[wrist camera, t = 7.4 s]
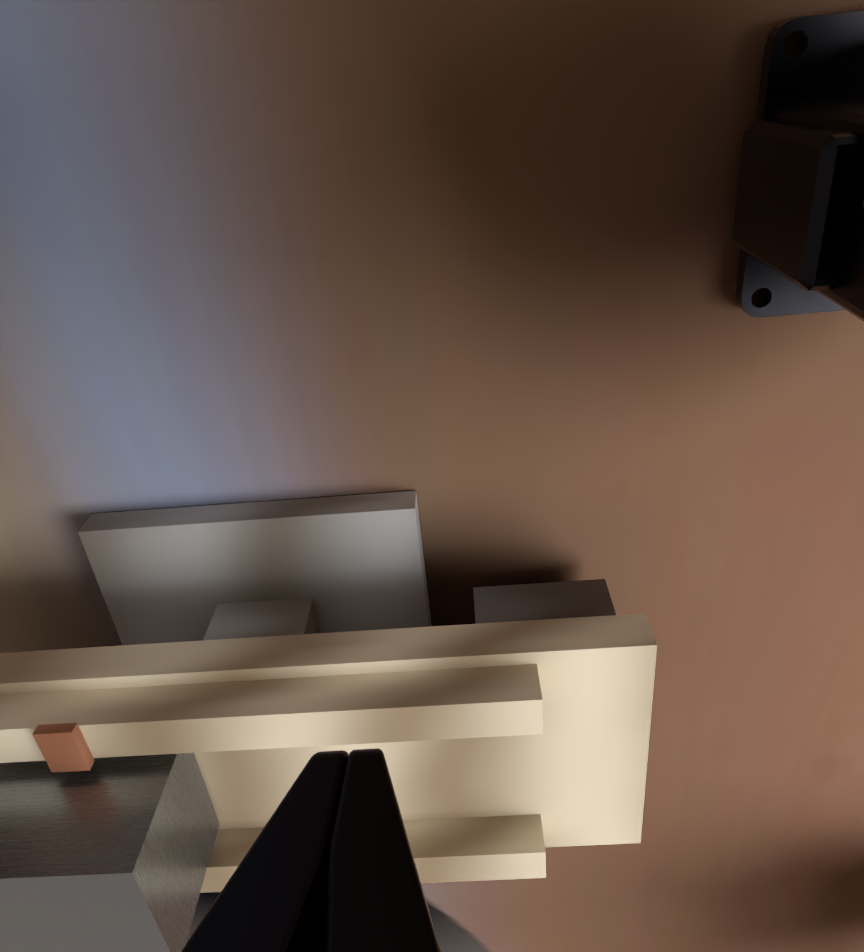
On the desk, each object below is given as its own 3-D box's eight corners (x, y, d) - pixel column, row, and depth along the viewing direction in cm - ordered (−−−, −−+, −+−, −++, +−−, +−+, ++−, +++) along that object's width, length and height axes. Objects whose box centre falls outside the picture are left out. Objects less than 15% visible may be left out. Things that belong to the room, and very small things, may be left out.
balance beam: (617, 476, 22) (680, 624, 16) (606, 752, 28) (648, 930, 22) (-97, 527, 23) (-272, 681, 17) (39, 781, 29) (-58, 958, 23)
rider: (185, 730, 20) (132, 872, 17) (219, 823, 22) (178, 968, 18) (7, 740, 20) (-83, 882, 17) (57, 831, 22) (-14, 975, 19)
